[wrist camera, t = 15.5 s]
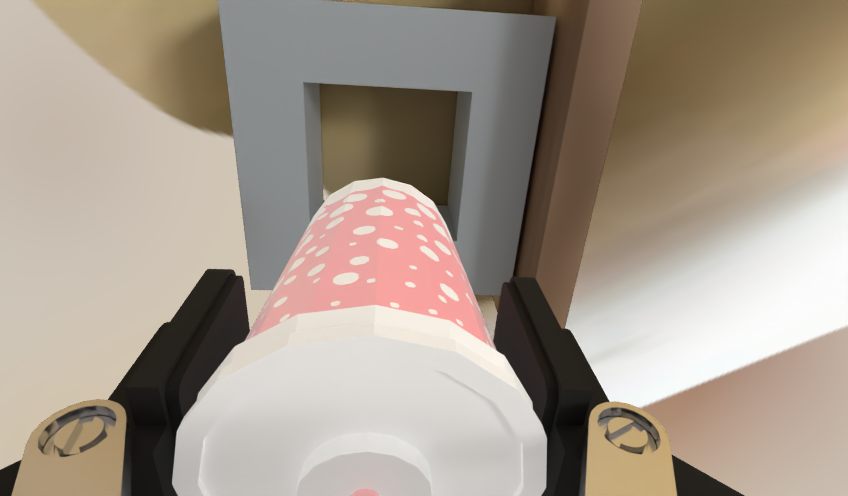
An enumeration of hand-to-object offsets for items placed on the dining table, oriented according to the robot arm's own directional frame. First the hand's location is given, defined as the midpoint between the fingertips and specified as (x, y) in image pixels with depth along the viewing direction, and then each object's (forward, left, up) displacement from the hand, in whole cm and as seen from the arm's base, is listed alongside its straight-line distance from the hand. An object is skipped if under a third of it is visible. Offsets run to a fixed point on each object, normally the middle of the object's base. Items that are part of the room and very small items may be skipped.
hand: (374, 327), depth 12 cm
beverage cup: (0, 0, -5) cm, 5 cm away
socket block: (0, 0, -18) cm, 18 cm away
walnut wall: (-8, 0, -18) cm, 20 cm away
